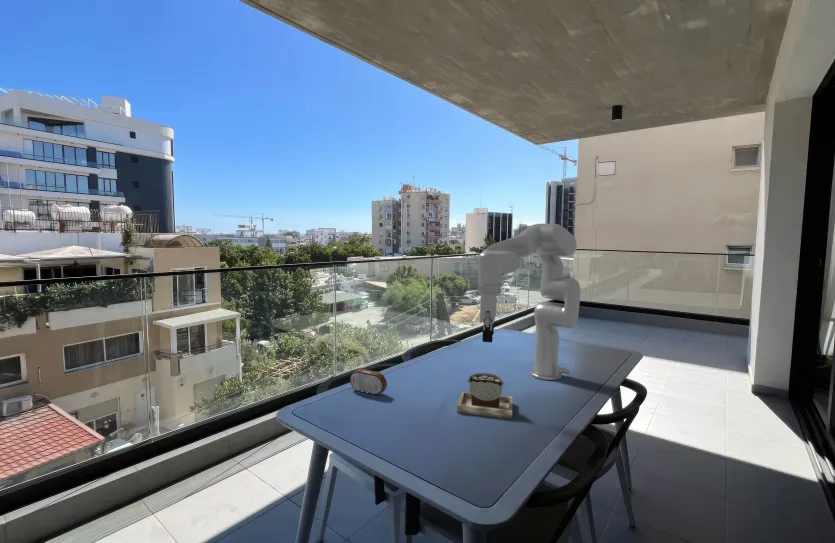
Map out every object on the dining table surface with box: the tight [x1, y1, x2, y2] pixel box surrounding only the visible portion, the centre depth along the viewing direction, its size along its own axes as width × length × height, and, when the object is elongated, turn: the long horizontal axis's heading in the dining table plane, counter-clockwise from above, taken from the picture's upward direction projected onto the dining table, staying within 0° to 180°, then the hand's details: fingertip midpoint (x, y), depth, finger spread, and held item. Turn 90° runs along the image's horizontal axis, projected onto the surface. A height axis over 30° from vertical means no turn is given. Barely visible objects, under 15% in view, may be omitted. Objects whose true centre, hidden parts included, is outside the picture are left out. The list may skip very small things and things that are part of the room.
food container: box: [467, 372, 505, 409], centre depth 136 cm, size 12×6×10 cm, turn 73°
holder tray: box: [456, 391, 513, 420], centre depth 134 cm, size 18×12×2 cm, turn 76°
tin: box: [349, 368, 388, 396], centre depth 146 cm, size 15×3×8 cm, turn 65°
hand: (488, 338), depth 133 cm, fingers open, 9 cm apart
